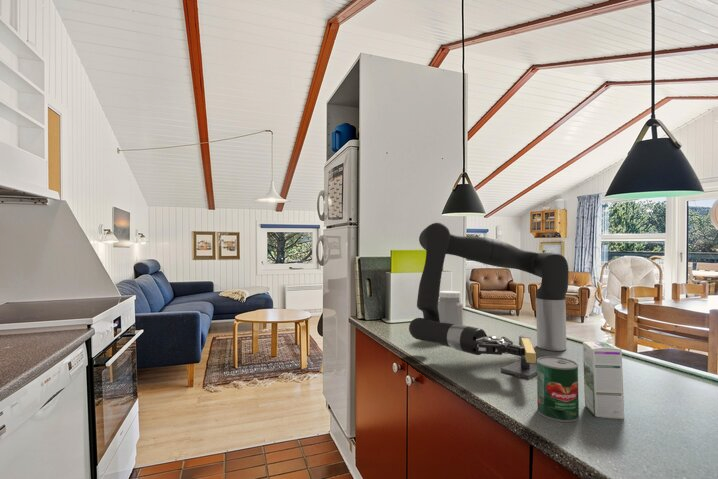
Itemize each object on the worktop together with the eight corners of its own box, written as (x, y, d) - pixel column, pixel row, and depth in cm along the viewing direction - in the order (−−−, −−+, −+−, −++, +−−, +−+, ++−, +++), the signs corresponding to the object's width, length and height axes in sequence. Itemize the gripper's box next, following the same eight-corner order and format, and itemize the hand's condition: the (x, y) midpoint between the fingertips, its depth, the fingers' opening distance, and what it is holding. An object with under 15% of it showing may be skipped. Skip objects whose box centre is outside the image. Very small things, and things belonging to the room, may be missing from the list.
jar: (436, 334, 151) (436, 290, 151) (461, 334, 150) (460, 290, 150) (438, 340, 141) (437, 293, 142) (464, 341, 140) (464, 293, 140)
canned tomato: (561, 425, 74) (560, 370, 74) (529, 409, 81) (528, 359, 81) (588, 417, 77) (586, 364, 77) (554, 403, 84) (553, 354, 85)
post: (518, 364, 112) (518, 341, 112) (545, 371, 106) (545, 346, 106) (501, 371, 106) (500, 346, 106) (528, 379, 99) (528, 353, 100)
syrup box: (625, 419, 76) (624, 348, 76) (593, 417, 77) (592, 347, 78) (612, 407, 82) (611, 341, 82) (583, 405, 83) (581, 340, 83)
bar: (518, 343, 108) (518, 335, 108) (529, 344, 107) (529, 335, 107) (524, 362, 91) (524, 352, 91) (538, 363, 90) (537, 353, 90)
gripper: (452, 329, 105) (509, 341, 92) (479, 323, 113) (535, 333, 100) (452, 356, 105) (509, 372, 91) (479, 347, 113) (536, 361, 100)
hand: (523, 351), depth 96 cm, fingers closed
